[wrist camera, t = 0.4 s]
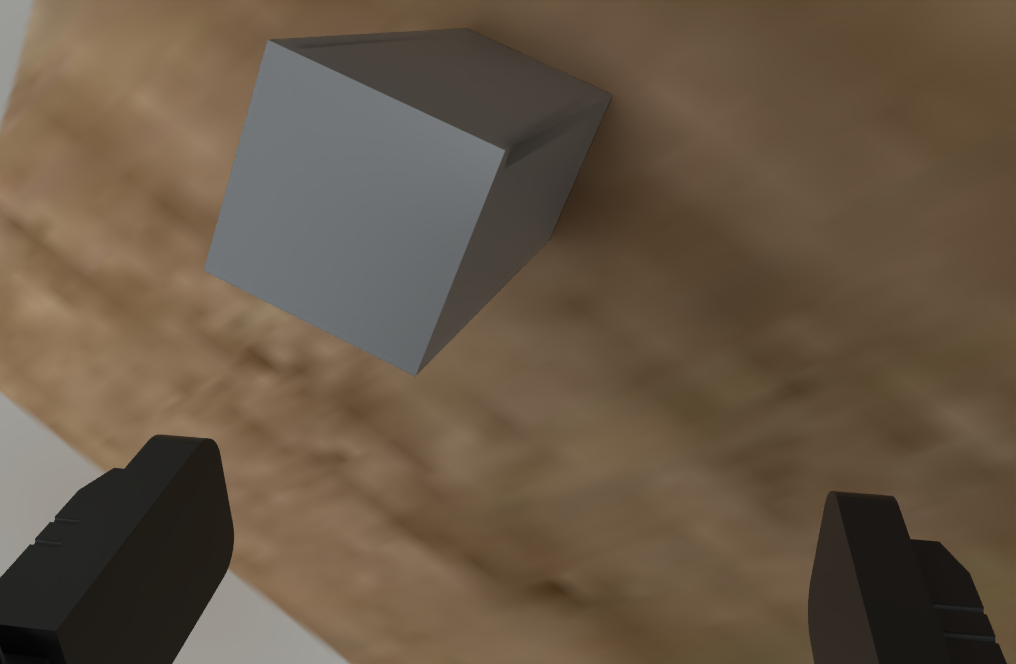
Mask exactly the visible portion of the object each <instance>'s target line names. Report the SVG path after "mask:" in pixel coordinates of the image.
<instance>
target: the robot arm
mask: <svg viewBox="0 0 1016 664" xmlns="http://www.w3.org/2000/svg"><path fill="white" fill-rule="evenodd" d="M233 544H234V529H233V522H232V517H231V511H230V505H229V500H228V494H227V489H226V483H225V478H224V472H223V467H222V461H221V456H220V451H219V448H218V446H217V444H216V442H215V441H214V440H212V439H208V438H196V437H184V436H172V435H155V436H153V437H152V438H151V439H150V440H149V441H148V442H147V443H146V444H145V445H144V446H143V448H142V449H141V450H140V451H139V452H138V453H137V455H136V456H135V457H134V458H133V459H132V461H131V462H130V463H129V464H128V465H127V466H126V468H125V469H121V468H113V469H112V470H110V471H108V472H107V473H105V474H104V475H102V476H100V477H99V478H97V479H96V480H94V481H93V482H91V483H89V484H88V485H86V486H85V487H83V488H81V489H80V490H79V491H78V492H77V493H76V494H75V495H74V496H73V497H72V498H71V499H70V500H69V502H68V503H67V504H66V505H65V506H64V507H63V508H62V509H61V510H60V512H59V513H58V514H57V515H56V516H55V521H54V522H50V523H49V524H48V525H47V526H46V527H45V528H44V530H43V531H42V532H41V533H40V534H39V535H38V536H37V537H36V538H35V544H34V545H31V544H30V545H29V546H28V547H27V549H26V550H25V551H24V552H23V553H22V554H21V555H20V556H19V557H18V559H17V560H16V561H15V562H14V563H13V564H12V565H11V566H10V567H9V569H8V570H7V571H6V572H5V573H4V574H3V575H2V576H1V577H0V664H172V663H173V661H174V660H175V658H176V656H177V655H178V653H179V651H180V650H181V648H182V646H183V645H184V643H185V641H186V640H187V638H188V636H189V635H190V633H191V631H192V630H193V628H194V626H195V625H196V623H197V621H198V619H199V618H200V616H201V614H202V613H203V611H204V609H205V608H206V606H207V604H208V602H209V601H210V599H211V598H212V596H213V594H214V593H215V591H216V589H217V588H218V586H219V584H220V583H221V581H222V579H223V577H224V576H225V574H226V572H227V569H228V567H229V564H230V561H231V557H232V552H233ZM983 609H984V607H983V605H982V602H981V600H980V597H979V595H978V592H977V590H976V588H975V585H974V583H973V580H972V578H971V575H970V573H969V572H968V571H967V570H966V569H965V568H964V567H963V566H962V565H961V564H960V563H959V562H958V561H957V560H956V559H955V558H954V557H953V556H952V555H951V553H950V552H949V551H948V550H947V549H946V548H945V547H944V546H943V545H942V544H941V543H940V542H937V541H925V540H914V539H910V537H909V534H908V531H907V528H906V525H905V523H904V520H903V517H902V514H901V511H900V508H899V505H898V503H897V501H896V499H895V498H894V497H893V496H886V495H874V494H862V493H849V492H837V491H831V492H829V494H828V496H827V499H826V502H825V507H824V512H823V517H822V523H821V528H820V533H819V539H818V544H817V549H816V555H815V560H814V565H813V571H812V576H811V581H810V588H809V599H808V624H809V635H810V641H811V647H812V652H813V658H814V663H815V664H1007V663H1006V661H1005V658H1004V656H1003V653H1002V651H1001V648H1000V646H999V644H996V642H995V634H994V631H993V629H992V627H991V624H990V622H989V619H988V617H987V615H986V614H984V612H983Z"/></svg>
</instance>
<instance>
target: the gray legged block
mask: <svg viewBox="0 0 1016 664" xmlns="http://www.w3.org/2000/svg"><path fill="white" fill-rule="evenodd" d="M611 97H612V94H610V93H608V92H605V91H603V90H601V89H599V88H597V87H594V86H592V85H590V84H588V83H586V82H583V81H581V80H579V79H577V78H575V77H572V76H570V75H568V74H566V73H563V72H561V71H559V70H557V69H555V68H552V67H550V66H548V65H546V64H544V63H541V62H539V61H537V60H535V59H533V58H530V57H528V56H526V55H524V54H522V53H519V52H517V51H515V50H513V49H511V48H508V47H506V46H504V45H502V44H500V43H497V42H495V41H493V40H491V39H489V38H486V37H484V36H482V35H480V34H478V33H475V32H473V31H471V30H469V29H467V28H463V29H446V30H428V31H411V32H393V33H376V34H359V35H341V36H324V37H306V38H289V39H272V40H268V41H267V44H266V48H265V51H264V55H263V59H262V62H261V66H260V69H259V73H258V77H257V80H256V84H255V87H254V91H253V95H252V98H251V102H250V106H249V109H248V113H247V116H246V120H245V124H244V127H243V131H242V134H241V138H240V142H239V145H238V149H237V152H236V156H235V160H234V163H233V167H232V170H231V174H230V178H229V181H228V185H227V188H226V192H225V196H224V199H223V203H222V206H221V210H220V214H219V217H218V221H217V225H216V228H215V232H214V235H213V239H212V243H211V246H210V250H209V253H208V257H207V261H206V264H205V268H204V271H205V272H207V273H209V274H211V275H213V276H215V277H217V278H219V279H221V280H223V281H225V282H227V283H229V284H231V285H233V286H235V287H237V288H239V289H241V290H243V291H245V292H247V293H249V294H251V295H253V296H255V297H257V298H259V299H261V300H263V301H265V302H267V303H269V304H271V305H273V306H275V307H277V308H279V309H281V310H283V311H285V312H287V313H289V314H291V315H293V316H295V317H297V318H299V319H301V320H303V321H305V322H307V323H309V324H311V325H313V326H315V327H317V328H319V329H321V330H323V331H325V332H327V333H329V334H331V335H333V336H335V337H337V338H339V339H341V340H343V341H345V342H347V343H349V344H351V345H353V346H355V347H357V348H359V349H361V350H363V351H365V352H367V353H369V354H371V355H373V356H375V357H377V358H379V359H381V360H383V361H385V362H387V363H389V364H391V365H393V366H395V367H397V368H399V369H401V370H403V371H405V372H407V373H409V374H411V375H413V376H416V375H417V374H418V373H419V372H420V371H421V370H422V369H423V368H424V367H425V366H426V365H427V364H428V363H429V362H430V361H431V360H432V359H433V358H434V357H435V356H436V355H437V354H438V353H439V352H440V351H441V350H442V349H443V348H444V347H445V346H446V345H447V344H448V343H449V342H450V341H451V340H452V339H453V338H454V336H455V335H456V334H457V333H458V332H459V331H460V330H461V329H462V328H463V327H464V326H465V325H466V324H467V323H468V322H469V321H470V320H471V319H472V318H473V317H474V316H475V315H476V314H477V313H478V312H479V311H480V310H481V309H482V308H483V307H484V306H485V305H486V304H487V303H488V302H489V301H490V300H491V299H492V298H493V297H494V296H495V295H496V294H497V293H498V292H499V291H500V290H501V289H502V288H503V287H504V286H505V284H506V283H507V282H508V281H509V280H510V279H511V278H512V277H513V276H514V275H515V274H516V273H517V272H518V271H519V270H520V269H521V268H522V267H523V266H524V265H525V264H526V263H527V262H528V261H529V260H530V259H531V258H532V257H533V256H534V255H535V254H536V253H537V252H538V251H539V250H540V249H541V248H542V247H543V246H544V245H545V244H546V243H547V242H548V241H549V239H550V237H551V235H552V232H553V230H554V228H555V225H556V223H557V221H558V219H559V216H560V214H561V212H562V209H563V207H564V205H565V203H566V200H567V198H568V196H569V193H570V191H571V189H572V186H573V184H574V182H575V180H576V177H577V175H578V173H579V170H580V168H581V166H582V164H583V161H584V159H585V157H586V154H587V152H588V150H589V147H590V145H591V143H592V141H593V138H594V136H595V134H596V131H597V129H598V127H599V124H600V122H601V120H602V118H603V115H604V113H605V111H606V108H607V106H608V104H609V102H610V99H611Z"/></svg>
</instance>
